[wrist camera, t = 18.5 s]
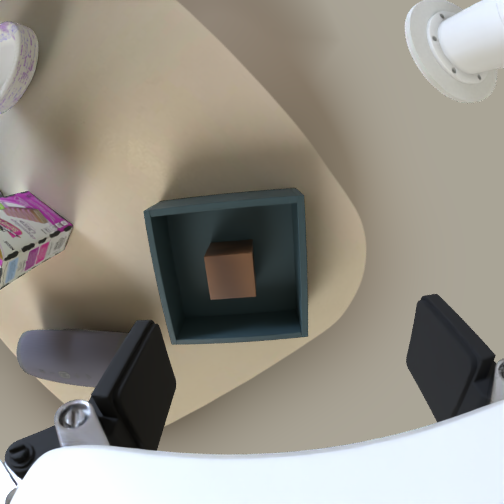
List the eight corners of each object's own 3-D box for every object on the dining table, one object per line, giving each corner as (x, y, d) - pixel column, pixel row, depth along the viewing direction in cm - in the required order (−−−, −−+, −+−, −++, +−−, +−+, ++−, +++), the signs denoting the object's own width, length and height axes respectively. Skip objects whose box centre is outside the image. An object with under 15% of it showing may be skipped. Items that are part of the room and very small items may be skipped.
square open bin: (295, 187, 38) (304, 195, 32) (300, 310, 44) (308, 336, 37) (160, 201, 39) (143, 210, 32) (181, 318, 44) (171, 344, 38)
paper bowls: (-6, 130, 34) (-37, 132, 27) (-10, 60, 30) (-38, 55, 22) (54, 89, 33) (22, 83, 26) (48, 15, 28) (21, 2, 21)
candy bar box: (75, 223, 40) (3, 261, 24) (65, 250, 41) (-2, 294, 26) (28, 187, 38) (-46, 210, 22) (20, 214, 39) (-50, 243, 24)
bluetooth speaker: (53, 357, 48) (29, 388, 39) (36, 316, 45) (7, 345, 36) (154, 363, 47) (137, 404, 38) (139, 316, 44) (116, 354, 35)
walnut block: (252, 239, 40) (252, 252, 34) (256, 278, 41) (256, 296, 36) (210, 242, 40) (203, 256, 35) (215, 281, 42) (210, 300, 36)
